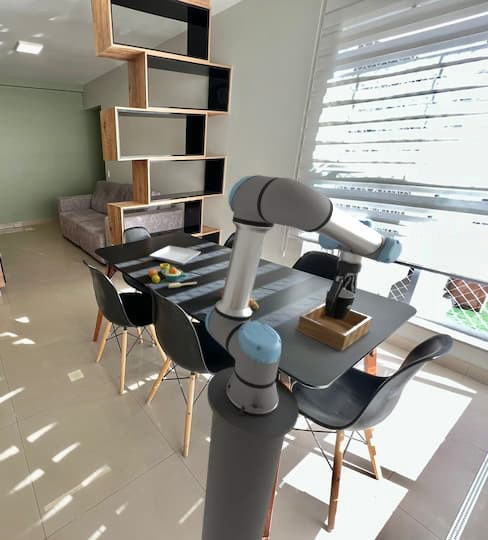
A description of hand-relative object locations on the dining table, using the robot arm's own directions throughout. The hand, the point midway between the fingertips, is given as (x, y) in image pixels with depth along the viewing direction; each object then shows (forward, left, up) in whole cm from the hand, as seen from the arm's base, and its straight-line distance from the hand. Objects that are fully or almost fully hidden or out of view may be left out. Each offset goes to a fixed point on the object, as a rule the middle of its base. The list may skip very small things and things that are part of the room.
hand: (336, 311), depth 114 cm
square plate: (+4, +108, -9) cm, 109 cm away
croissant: (-13, +38, -9) cm, 41 cm away
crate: (0, 0, -9) cm, 9 cm away
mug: (0, 0, -1) cm, 1 cm away
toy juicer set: (-24, +79, -9) cm, 83 cm away
